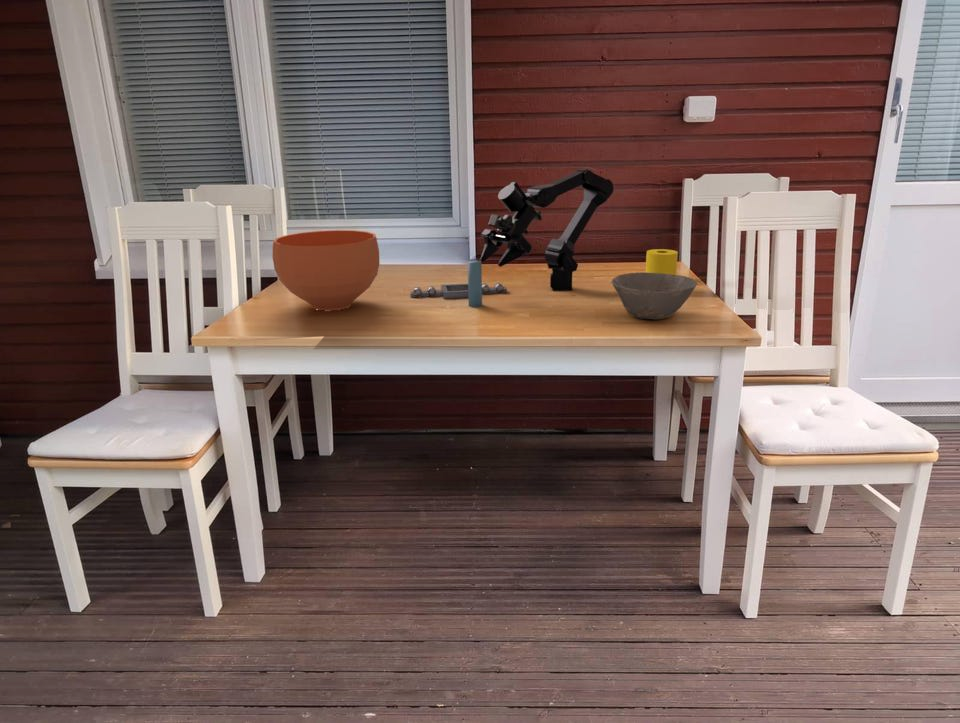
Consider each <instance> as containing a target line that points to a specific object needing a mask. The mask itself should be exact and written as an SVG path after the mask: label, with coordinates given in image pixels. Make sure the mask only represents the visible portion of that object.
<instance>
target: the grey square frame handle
mask: <svg viewBox="0 0 960 723" xmlns="http://www.w3.org/2000/svg"><path fill="white" fill-rule="evenodd" d="M505 293H506V294H507V293H508V288H507V287H506V286H503V284H502V283H501V282H497V283H495V284H494V287H490V286H489V285H488V283H482V295H488V294H505ZM409 294H410V295H409V296H410V298H427V297H428V298H430V297H442V298H443V299H444V300H447V299H469V297H468V283H455V284H454V283H453V284H452V283H451V284H440V289H436V287H435V286H433V285H430V286H427V289H426V290H422V288H421V287H419V286H415V287H414V288H413V289H412V291H409Z"/></svg>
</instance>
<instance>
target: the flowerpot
mask: <svg viewBox="0 0 960 723" xmlns="http://www.w3.org/2000/svg"><path fill="white" fill-rule="evenodd" d="M272 261H273V262H272V263H273V269H274V271H275V273H276V276H277V277H278V280H279V282H280V283H281V284H283V285H284V287H285V288H286V289H287V290H288V291H289V292H290V293H291V294H293V295H294V296H296V297H297V298H299V299H302V300H303V301H304V302H306V303H308V304H310V305H311V306H312V309H313V308H315V309H318V310H338V311H341V310H340V309H343V310H345V309H344V308H347V307H349V308H351V307H352V303H353V302H354V301H356V299H358V298H359V297H360V296H361V295H362V294H363V293H365V291H367V290H368V289H370V287H371V286H372V284H373V283H374V281H375V279H376V277H377V276H378V271H379V267H380V248H379V244H378V239H377V235H376V233H373V232H371V231H370V232H369V231H365V230H357V229H354V230H353V229H351V230H350V229H348V230H347V229H335V230H334V229H332V230H330V229H328V230H327V229H326V230H315V231H302V232H297V233H290V234H286V235H285V234H284V235H281V236H278V237H276V238H275V239H274V240H273V242H272ZM350 306H351V307H350ZM315 309H314V310H315ZM347 309H348V308H347ZM318 310H317V311H318Z"/></svg>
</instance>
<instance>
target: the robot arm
mask: <svg viewBox="0 0 960 723" xmlns="http://www.w3.org/2000/svg"><path fill="white" fill-rule="evenodd" d="M579 186H580V187H581V188H583V200H582V202H581V204H580V205H579V206H578V208H577V211H575V214H574V215H573V216H572V218H571V220H570V222H569V224H568V225H567V227H566V228H565V230H564V231H563V233H562V234H561V236H560V237H559V238H558V239H557V238H552V239H551V240H550V241H549V243H548V245H547V247H545V252H544V260H545V262H546V264H547V268H548V269H550V270H552V271H551V273H550V275H549V277H550V278H549V284H550V285H549V287H550V288H551V290H552V291H573V290H574V288H573V272H576V271H577V269H578V266H579V264H578V262H577V261H576V260H575V259H574V258H573V257H574V255H575V245H576V243H577V241H578V239H579V238H580V236H581V234H582V233H583V232H584V230H585V228H586V226H587V225H588V223H589V221H590V220H591V218H592V216H593V215H594V213H595V212H596V210H597V209H598V207H601V205H603V204H604V203H606V202H607V201H608V199H610V198H611V196H612V195H613V193H614V184H613V181H612V180H611V179H609V178H604V177H603V176H600V175H598V174H596V173H594V172H593V171H591V170H590V169H588V168H587V169H584V168H579V169H576V170H575V171H573V172H572V173H569V174H567V175H565V176H563V177H561V178H558V179H557V180H555V181H553V182H550V183H547V184H539V185H534V186H531V187H528V188H527V190H526V191H523V189H522V188H521V187H520V185H519V184H518V182H517V181H511V182H510V184H508V185H506V186H505V187H503V188H502V189H500V190H499V192H498V195H497V198H498V200H500V202H501V203H502V204H503V205H504V206H505V208H506V209H507V210H508V211H509V212H510V213H514V214H513V215H512V216H511V215H508V214H505V215H504V216H503V215H502V216H501V215H497V214H491V215H490V218H489V221H488V223H487V225H488V226H489V227H493V228H495V229H496V230H495V229H493V228H485V229H484V230H483V231H482V232H481V236H482V239H483V241H484V245H483V250H482V253H481V255H480V258H479V261H481V263H484V262H485V261H486V260H488V259H489V258H490V257H492V256H493V255H495V253H496V252H498V251H499V250H500V248H501V246H502V245H503V244H505V245H506V246H507V247H506V250H505V251H504V253H503V254H502V256H501V259H500V260H499V262H498V263H497V265H498V267H499V268H502V267H503V266H505V265H507V264H508V263H510V262H512V261H514V260H517V259H518V258H521V257H524V256H525V255H530V253H531V251H532V250H533V248H532V247H533V245H532V244H531V242H530V241H529V239H527V238H526V237H525V235H526V236H527V234H528V233H529V230H528V228H529V227H530V226H531V225H532V222H533V221H542V219H543V218H542V211H540V210H537V209H536V208H547V207H549V206H551V205H552V204H553V203H554V202H555V200H556V199H557V198H558V197H559V196H561V195H563V194H565V193H567V192H570V191H572V190H574V189H576V188H578V187H579ZM535 207H536V208H535Z"/></svg>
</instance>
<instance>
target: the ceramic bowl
mask: <svg viewBox="0 0 960 723" xmlns="http://www.w3.org/2000/svg"><path fill="white" fill-rule="evenodd" d="M611 283H612V285H613V288H614V290H615V292H616V293H617V294H618V296H619V299H620V301H621V303H622V305H623V307H624V309H625V311H627V312H628V313H629V315H631V316H633V317H635V318H637V319H641V320H642V319H643V320H646V319H647V320H655V321H656V320H662V319H666V318H669V317H671V316H672V315H674V314H676V312H677V311H679V310H680V308H681V307H682V306H683V305H684V304H685V303H686V302H687V301H688V299H689V297H690V296H691V294H692V293H694V290H695V289H696V287H697V285H698V282H697V280H696V279H693V278H691V277H689V276H685V275H681V274H680V275H679V274H676V275H672V274H661V273H645V272H631V273H623V274H619V275H617V276H615V277H613V279H611Z"/></svg>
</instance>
